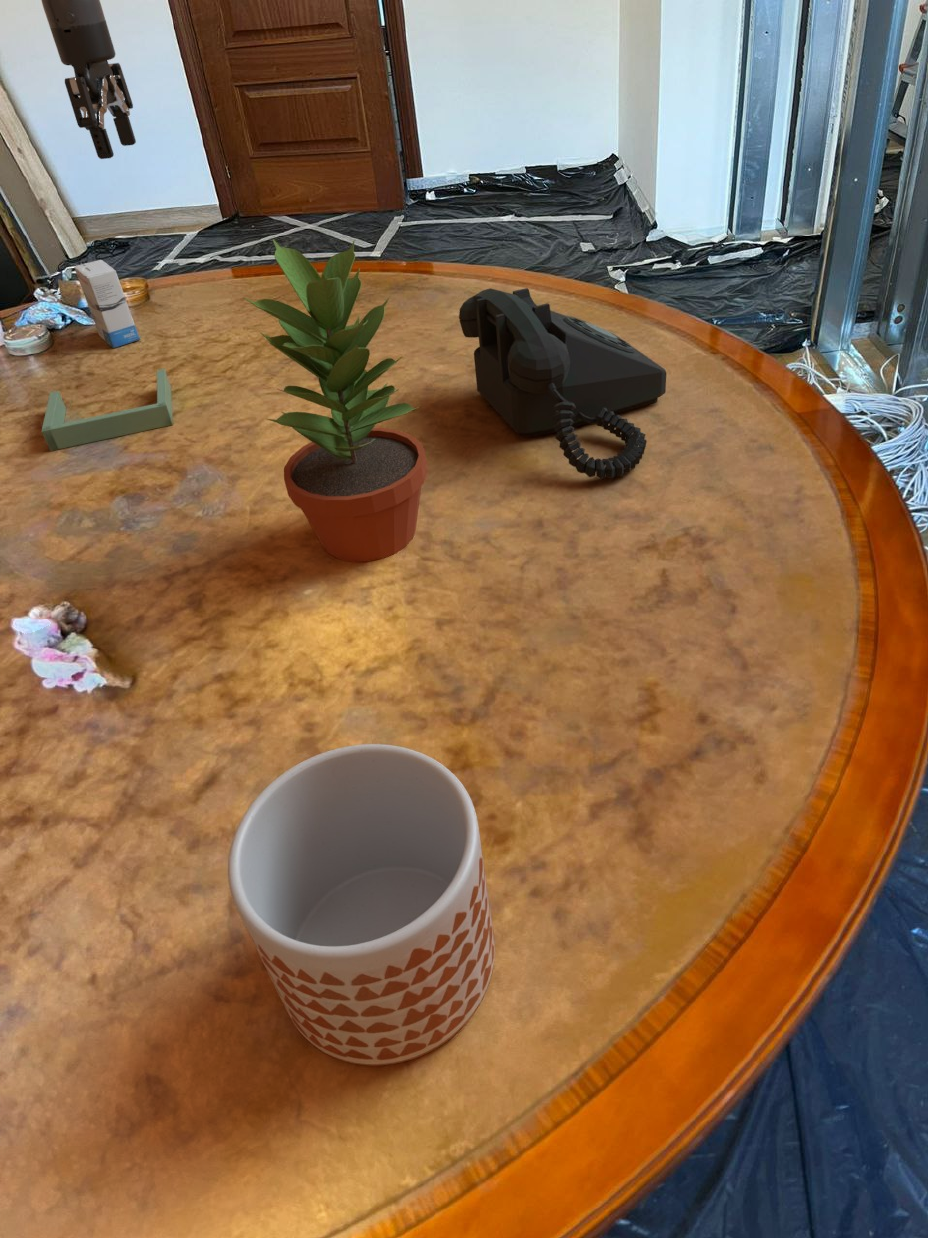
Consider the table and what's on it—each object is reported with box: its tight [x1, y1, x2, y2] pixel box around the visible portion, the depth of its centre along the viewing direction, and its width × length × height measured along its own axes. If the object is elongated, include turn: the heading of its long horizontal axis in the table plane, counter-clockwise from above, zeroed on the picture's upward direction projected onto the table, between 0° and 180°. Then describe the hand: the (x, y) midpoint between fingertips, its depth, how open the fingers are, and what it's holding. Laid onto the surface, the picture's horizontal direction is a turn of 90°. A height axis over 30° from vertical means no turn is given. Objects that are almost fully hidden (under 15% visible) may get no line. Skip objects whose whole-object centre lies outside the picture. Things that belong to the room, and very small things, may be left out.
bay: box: [40, 368, 174, 452], centre depth 120 cm, size 13×16×3 cm
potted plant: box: [243, 237, 429, 563], centre depth 82 cm, size 15×15×30 cm
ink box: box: [73, 259, 141, 349], centre depth 142 cm, size 8×5×12 cm, turn 34°
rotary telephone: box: [458, 287, 667, 480], centre depth 103 cm, size 33×22×15 cm, turn 20°
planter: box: [227, 743, 496, 1067], centre depth 50 cm, size 14×14×13 cm
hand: (118, 151), depth 129 cm, fingers open, 8 cm apart
